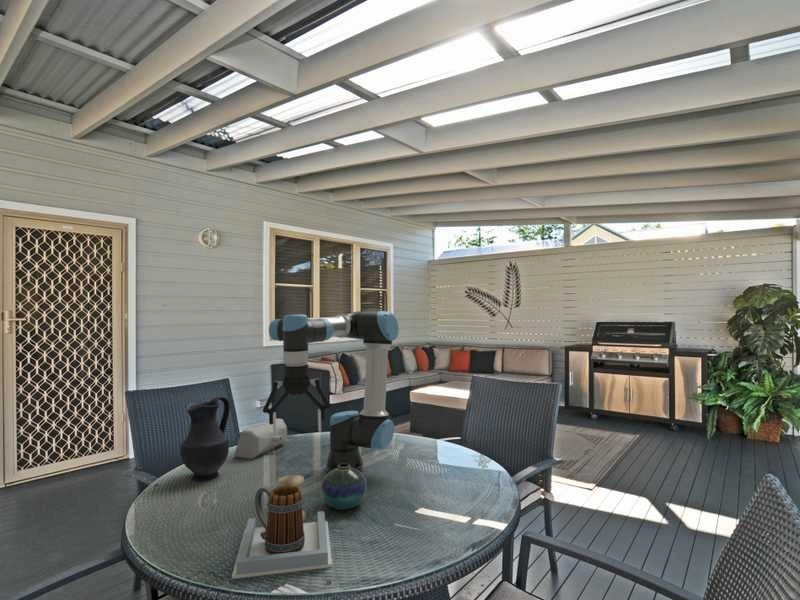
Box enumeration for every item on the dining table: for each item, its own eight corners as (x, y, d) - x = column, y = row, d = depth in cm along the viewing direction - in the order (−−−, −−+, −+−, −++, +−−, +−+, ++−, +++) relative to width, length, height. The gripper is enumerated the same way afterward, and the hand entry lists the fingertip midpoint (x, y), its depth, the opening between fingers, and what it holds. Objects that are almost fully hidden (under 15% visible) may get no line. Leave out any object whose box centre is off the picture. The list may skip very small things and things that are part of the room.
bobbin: (305, 510, 148) (305, 473, 148) (305, 523, 139) (305, 483, 139) (277, 513, 146) (277, 475, 146) (275, 526, 137) (275, 486, 137)
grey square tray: (327, 523, 139) (327, 511, 139) (331, 567, 115) (331, 551, 115) (245, 531, 134) (245, 518, 134) (232, 578, 110) (232, 563, 110)
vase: (329, 519, 141) (329, 476, 142) (314, 501, 155) (314, 462, 155) (374, 509, 148) (374, 468, 149) (356, 492, 162) (356, 455, 162)
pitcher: (170, 481, 173) (171, 402, 174) (211, 464, 193) (212, 393, 193) (205, 488, 167) (205, 405, 167) (244, 469, 186) (244, 395, 187)
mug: (312, 543, 125) (313, 487, 126) (287, 561, 116) (287, 501, 117) (269, 531, 133) (270, 478, 133) (241, 547, 123) (242, 490, 124)
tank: (263, 461, 196) (263, 432, 196) (233, 458, 201) (233, 429, 201) (295, 445, 220) (295, 419, 220) (267, 442, 225) (267, 416, 225)
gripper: (335, 360, 148) (336, 426, 148) (255, 364, 142) (256, 432, 142) (337, 363, 140) (339, 432, 140) (252, 368, 135) (254, 439, 135)
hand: (297, 432), depth 141 cm, fingers open, 13 cm apart
